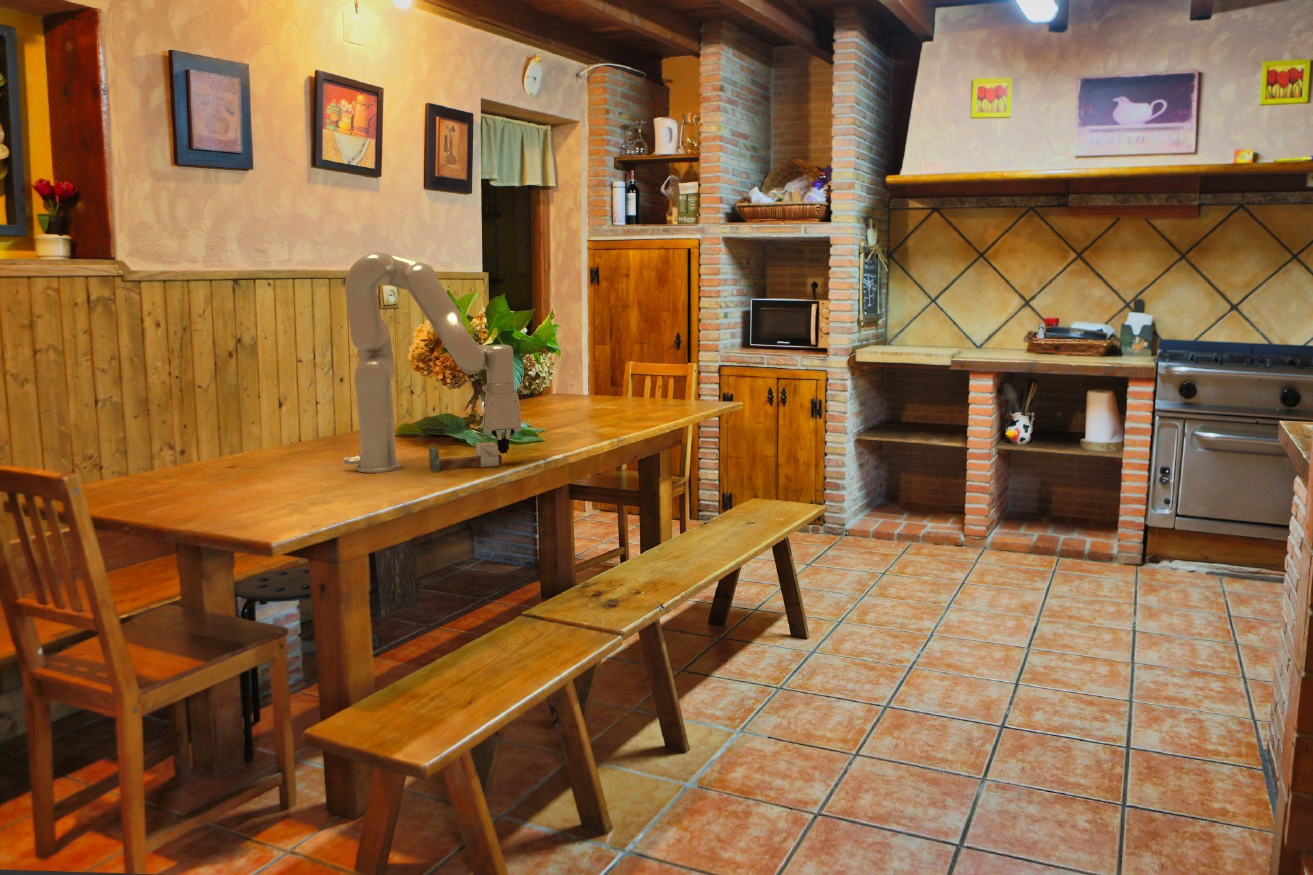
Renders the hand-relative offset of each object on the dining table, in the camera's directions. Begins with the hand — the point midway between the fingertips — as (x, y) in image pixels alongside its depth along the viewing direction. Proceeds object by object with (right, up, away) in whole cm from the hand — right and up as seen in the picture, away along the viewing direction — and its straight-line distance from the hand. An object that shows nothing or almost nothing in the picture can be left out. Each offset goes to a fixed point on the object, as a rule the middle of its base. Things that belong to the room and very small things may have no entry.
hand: (503, 452), depth 296 cm
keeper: (-4, -3, -1) cm, 6 cm away
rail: (-9, -4, -3) cm, 10 cm away
